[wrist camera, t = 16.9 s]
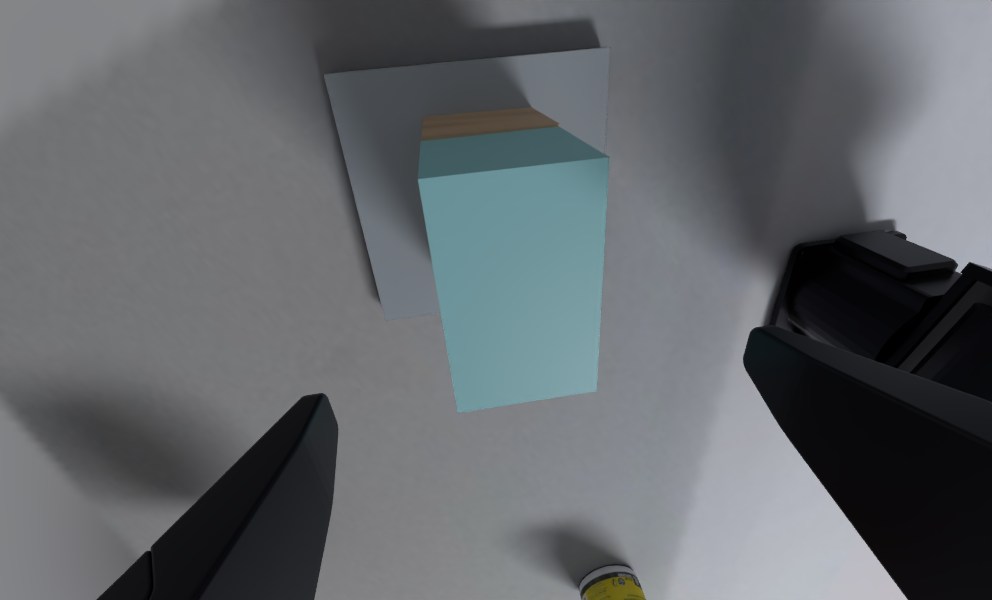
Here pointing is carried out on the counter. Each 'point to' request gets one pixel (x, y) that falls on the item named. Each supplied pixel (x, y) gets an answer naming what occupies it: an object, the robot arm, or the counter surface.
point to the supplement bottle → (611, 584)
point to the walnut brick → (483, 123)
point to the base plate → (398, 132)
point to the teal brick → (517, 261)
